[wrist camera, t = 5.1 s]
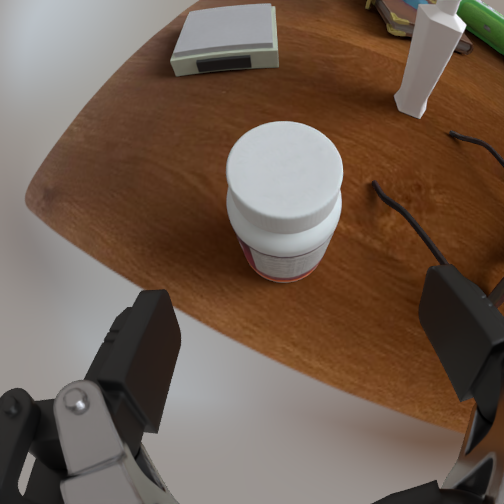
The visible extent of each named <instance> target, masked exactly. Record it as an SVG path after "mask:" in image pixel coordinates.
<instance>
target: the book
mask: <svg viewBox="0 0 504 504" xmlns="http://www.w3.org/2000/svg"><path fill="white" fill-rule="evenodd" d="M436 2H437V1H436V0H367V3H366V6H365V8H366V9H370V6H371V3H372V4H373V6H375V7H376V9H377V10H378V12H379V13H380V15H381V17H382V18H383V20H384V21H385V23H386V25H387V31H388V32H389V33H391V34H393V35H396V36H409V37H413V32H414V27H415V21H416V16H417V10H418V4H436ZM454 50H455V51H458V52H461V53H464V54H466V55H468V54H470V53H471V52H472V51H473V44H472V42H471V41H470V40H469V39H468V37H467V36H466V35H465V33H464V32H463V34H462V36H461V38H460V40H459V42H458V44H457V46H456V48H455V49H454Z"/></svg>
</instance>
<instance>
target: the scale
mask: <svg viewBox="0 0 504 504" xmlns="http://www.w3.org/2000/svg"><path fill="white" fill-rule="evenodd" d="M170 62H171V65H172V67H173V70H174V73H175V75H176V77H177V76H183V75H190V74H197V73H205V72H214V71H224V70H236V69H251V68H276V67H279V61H278V44H277V29H276V15H275V7H271V4H251V5H238V6H228V7H219V8H211V9H204V10H198V11H192V12H189V15H188V17H187V19H186V21H185V24H184V26H183V29H182V31H181V34H180V36H179V39H178V41H177V44H176V46H175V49H174V52H173V55H172V57H171V60H170Z"/></svg>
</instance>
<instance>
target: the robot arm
mask: <svg viewBox="0 0 504 504" xmlns="http://www.w3.org/2000/svg"><path fill="white" fill-rule="evenodd" d="M419 320H420V323H421V326H422V327H423V329H424V331H425V333H426V335H427V336H428V338H429V340H430V342H431V344H432V346H433V348H434V349H435V351H436V353H437V355H438V357H439V359H440V361H441V363H442V365H443V367H444V369H445V371H446V373H447V375H448V377H449V379H450V381H451V383H452V385H453V387H454V390H455V392H456V394H457V396H458V398H459V400H460V402H462V401H465V400H467V399H470V398H473V397H474V399H475V401H476V403H475V404H474V406H473V408H472V411H471V415H470V419H469V423H468V427H467V430H466V434H465V437H464V441H463V444H462V447H461V450H460V453H459V457H458V459H457V461H456V463H455V465H454V467H453V468H452V470H451V471H450V473H449V474H448V476H447V477H446V479H445V481H444V483H443V485H442V487H441V489H439V487H438V483H437V480H435V481H432V482H429V483H426V484H423V485H420V486H417V487H414V488H411V489H407V490H404V491H400V492H397V493H393V494H390V495H388V496H386V497H385V498H382V499H380V500H378V501H376V502H374V503H372V504H504V317H503V316H502V314H501V313H500V312H499V310H498V309H497V308H496V307H495V306H493V303H492V302H491V301H490V300H489V298H486V295H485V294H484V292H483V291H482V290H481V289H480V288H479V287H478V285H476V284H474V283H473V282H471V281H470V280H468V279H467V278H465V277H463V275H462V274H461V273H460V272H459V271H458V270H457V269H456V268H455V266H453V265H452V264H445V265H438V266H431V267H429V269H428V271H427V274H426V278H425V283H424V288H423V292H422V296H421V301H420V305H419ZM180 346H181V332H180V328H179V324H178V321H177V318H176V315H175V312H174V309H173V306H172V303H171V299H170V296H169V294H168V292H167V291H166V290H165V289H162V290H143V291H141V292H140V293H139V295H138V297H137V299H136V301H135V302H134V304H133V306H132V307H127V308H126V309H125V310H124V311H123V312H122V313H121V314H120V315H118V316H117V317H116V319H115V321H114V322H113V324H112V326H111V328H110V332H108V333H107V336H106V337H105V339H104V343H102V345H101V347H100V348H99V350H98V352H97V354H96V356H95V358H94V360H93V362H92V364H91V366H90V368H89V370H88V372H87V374H86V376H85V378H84V380H78V381H74V382H72V383H69V384H68V385H66V386H65V387H64V388H63V389H62V390H60V392H59V393H58V394H57V396H56V398H55V399H49V400H41V401H34V400H33V399H32V397H31V396H30V395H29V394H28V393H27V392H26V391H25V390H24V389H21V388H14V389H11V390H9V391H7V392H6V393H4V394H3V395H2V396H1V398H0V504H179V503H178V502H177V501H176V499H175V498H174V497H173V495H172V494H171V493H170V491H169V490H168V488H167V486H166V485H165V483H164V481H163V480H162V478H161V476H160V475H159V473H158V471H157V470H156V468H155V466H154V464H153V462H152V460H151V459H150V457H149V455H148V453H147V451H146V449H145V447H144V445H143V444H142V442H141V440H142V436H143V432H148V433H158V430H159V426H160V422H161V418H162V414H163V410H164V406H165V402H166V398H167V394H168V391H169V386H170V383H171V379H172V376H173V372H174V368H175V364H176V361H177V357H178V354H179V350H180ZM28 452H29V453H31V454H32V455H33V456H34V457H35V458H36V460H35V462H34V466H33V468H32V472H31V475H30V478H29V481H28V485H27V488H26V491H25V494H24V495H23V496H22V495H21V494H20V492H19V489H18V480H19V477H20V474H21V471H22V468H23V465H24V462H25V459H26V456H27V453H28Z"/></svg>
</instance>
